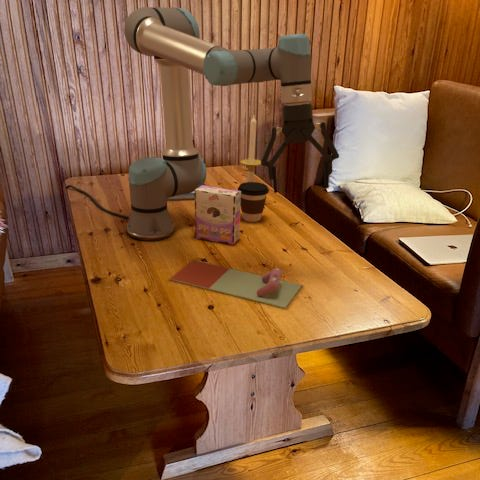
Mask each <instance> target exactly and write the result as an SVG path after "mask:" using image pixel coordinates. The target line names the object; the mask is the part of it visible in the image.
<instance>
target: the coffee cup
mask: <svg viewBox="0 0 480 480" xmlns="http://www.w3.org/2000/svg"><path fill="white" fill-rule="evenodd" d="M237 191H241V205H240V212H241V217H242V219H243V220H244V221H245V222H249V223H257V222H260V221H261V219H262V216H263V213H264V208H265V205H266V200H267V194H269V193H270V189H269V187H268V185H267V184H265V183H262V182H259V181H258V182H257V181H254V182H247V181H246V182H242V183H240V184H239V185H238V187H237Z"/></svg>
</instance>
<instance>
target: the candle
mask: <svg viewBox="0 0 480 480" xmlns="http://www.w3.org/2000/svg"><path fill="white" fill-rule="evenodd" d="M251 118H252V119H251V120H250V127H249V147H248V158H242V159H240V160H239V163H240V164H241V165H243V166H247V175H246V182H255V167H258V166H262V165H261V160H262V159H256V158H255V157H256V155H255V153H256V139H257V138H256V137H257V136H256V135H257V120H256V115H255V114H253V116H252V117H251Z"/></svg>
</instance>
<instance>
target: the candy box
mask: <svg viewBox="0 0 480 480" xmlns="http://www.w3.org/2000/svg"><path fill="white" fill-rule="evenodd" d="M240 228H241V191H238V189H237V190H236V189H230V188H223V187H216V186H209V185H205V186H204V185H201V186H200V187H198V188H197V189H195V199H194V238H195V239H199V240H205V241H210V242H215V243H221V244H227V245H231V246H234V245H235V244H236V243H237V242H238V241H239V240H240V231H241V229H240Z"/></svg>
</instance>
